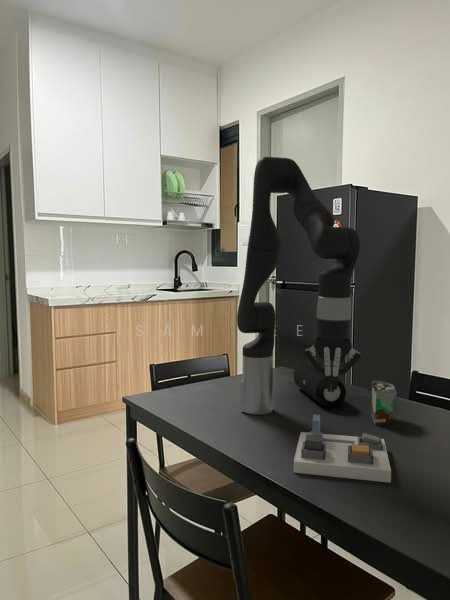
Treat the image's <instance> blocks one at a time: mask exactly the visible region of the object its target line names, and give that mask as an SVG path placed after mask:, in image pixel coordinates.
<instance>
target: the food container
mask: <svg viewBox="0 0 450 600" xmlns="http://www.w3.org/2000/svg"><path fill="white" fill-rule="evenodd" d="M397 395H398V394H397V389H396V388H395V386H394V384H392V383H389V382H386V381H379V380H371V416H372V419H373V422H374V426H386V425H389V424H391V423H392V420H393V419H392V418H393V409H394V402H395V401H394V400H395V398H396V397H397ZM385 424H386V425H385Z"/></svg>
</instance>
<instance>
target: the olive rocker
mask: <svg viewBox="0 0 450 600" xmlns="http://www.w3.org/2000/svg"><path fill="white" fill-rule="evenodd" d="M361 437H362V442H366V443H369V444H373V445H379V439H380V438H379V436H376V435H373V434H369V433H365V432H363V433H362V436H361Z"/></svg>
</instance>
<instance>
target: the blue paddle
mask: <svg viewBox="0 0 450 600" xmlns="http://www.w3.org/2000/svg"><path fill="white" fill-rule="evenodd" d="M311 422H312V423H311V425H312V427H311V428H312V429H311V430H310V431H309V433H310V435H320V436H323V434H324V433H323V431H321V415H320V414H313V415H312V420H311Z"/></svg>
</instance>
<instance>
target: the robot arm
mask: <svg viewBox="0 0 450 600" xmlns="http://www.w3.org/2000/svg"><path fill="white" fill-rule="evenodd" d="M253 175H254V176H253V189H252V190H253V191H252V212H251V220H250V230H249V237H248V241H247V242H248V244H247V250H246V259H245V269H244V277H243V284H242V289H241V295H240V299H239V302H238V308H237V315H236V322H237V323H236V326H237V327H238V330H239V332H240V333H242V334H258V335H257V337H256V338H255V339H253V340H252V341H250V342H248V343H246V344H244V345H243V346H242V379H241V381H240V412H241V413H246V414H249V415H259V416H261V415H268V414H270V413H272V412H273V410H274V409H273V406H274V404H273V403H274V402H273V399H274V398H273V394H274V392H273V391H274V386H273V385H274V384H273V383H274V381H273V380H274V374H273V373H274V347H275V335H276V334H275V332H276V311H275V307H274V305H273V304H272V303H271V302H269V301H262V302H261V301H260V302H259V301H257V302H256V299H257V296H258V293H259V291H260V290H261V288H262V287H263V285H264V284H265V283H266V281H267V280H268V279H269V278H270V277H271V275H272V274H273V273H274V271H275V270H276V268H277V266H278V265H279V259H280V254H281V253H280V252H281V248H282V247H281V246H282V241H281V240H282V239H281V236H280V233H279V231H278V228H277V226H276V224H275V222H274V219H273V217H272V214H271V205H270V203H271V202H270V201H271V196H272V195H271V194H288V195H290V196H291V197H293V204H292V212H293V215H294V217H295V219H296V221H297V222H298V224H299V225H300V226H301V228H302V229H303V230H304V231H305V232H306V235H307V238H308V241H309V245H310V248H311V250H312V252H313V253H314V254H315V255H316V256H317V257H318V258H320V259H324V260H334V263H333V265H332V267H331V268H328V269H325V270H323V271H321V272H320V273H319V276H318V291H317V292H318V295H317V296H318V297H317V304H316V329H315V340H314V341H313V344H312V346H311V347H309V348H305V350H304V355H305V357H306V358H307V360H308V362H311V363H312V365H313V366H314V367H315V369H316V370H317V371H318V372H319V373H323V374H324V375H325V389H328V392H334V390H337V385H338V378H339V376H342V375H346V374H347V373H348V372H349V371H350V369H352V368H353V367H354V365H355V364H356V363H357V362H359V359H361V352H360V351H357V350H355V348H353V344H352V342H351V319H352V318H351V317H352V304H351V303H352V301H351V287H352V276H353V274H354V271H355V267H356V264H357V261H358V257H359V255H360V251H361V238H360V236H359V234H358V232H357V231H356V230H355V229H354V228H352V227H346V226H345V227H343V226H342V227H341V226H335V218H334V216H333V214H332V213H331V212H330V211H329V209H328V208H327V207H326V206H325V205H324V204H323V203H322V202H321V201H320V200H319V198H318V197H317V196H316V194H315V193H314V191H313V190H312V187H311V186H310V184H309V182H308V181H307V179H306V176H305V175H304V173H303V171H302V170H301V167H300V166H299V165H298V164H297V162H296V161H295V160H294V159H292V158H289V157H288V158H287V157H275V156H262V157H260V158H259V159H258V161H257V162H256V165H255V170H254V174H253ZM316 352H317V354H318V355H319V357H320V358H321V360H323V361H324V366H323V365H322V363H321V362H320V361H319V360H318V358H317V357H316ZM348 354H349V355H348ZM347 355H348V359H347V360H346V362H344V364H343V365H342V366H341V367H340V363H341V361H342V360H344V359H345V357H346V356H347ZM331 361H332V362H333V366H332V371H331ZM331 372H332V373H331ZM331 374H332V378H331Z"/></svg>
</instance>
